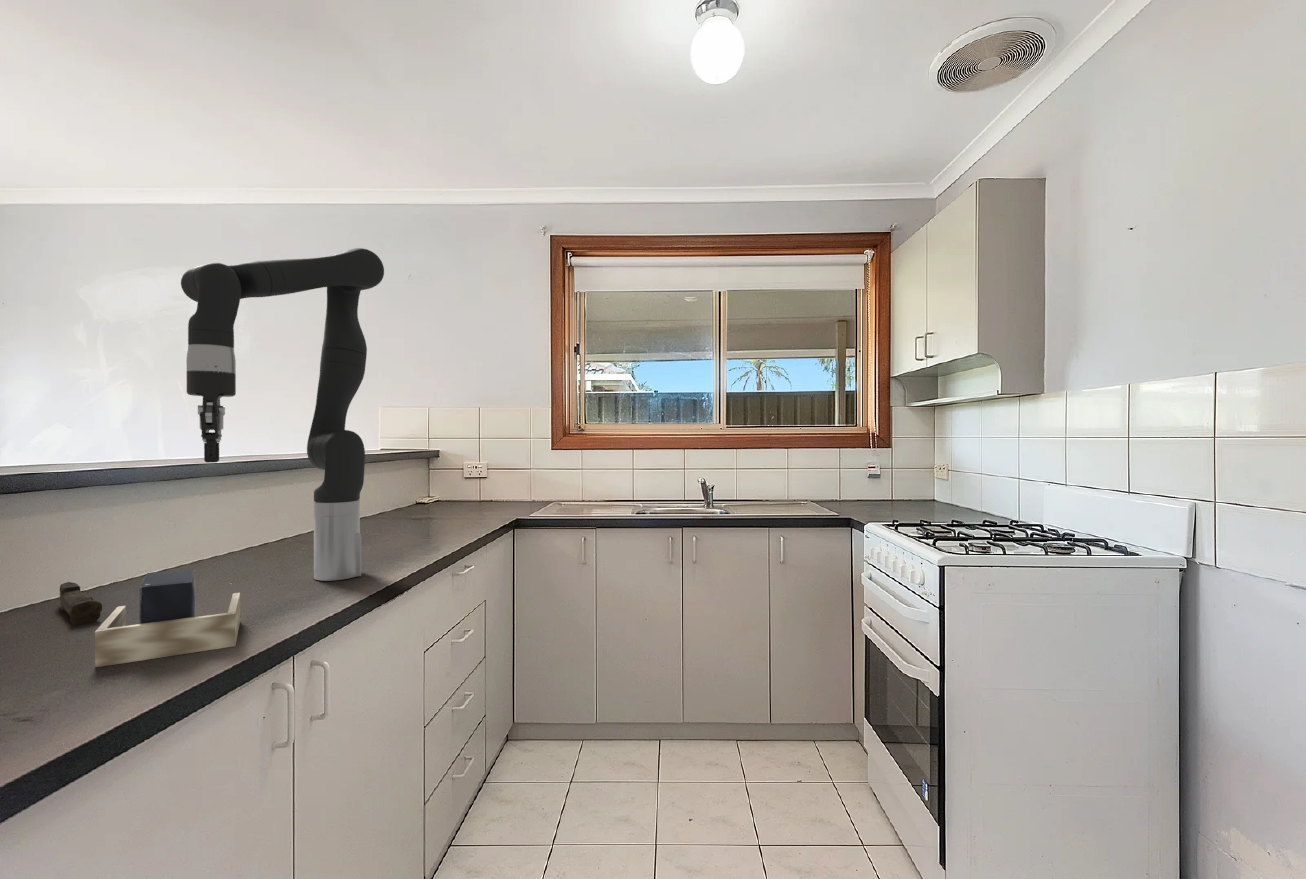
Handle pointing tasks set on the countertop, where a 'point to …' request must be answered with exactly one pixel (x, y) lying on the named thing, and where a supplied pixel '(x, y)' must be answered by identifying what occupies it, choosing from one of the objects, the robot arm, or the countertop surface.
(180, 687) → the countertop surface
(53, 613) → the countertop surface
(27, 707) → the countertop surface
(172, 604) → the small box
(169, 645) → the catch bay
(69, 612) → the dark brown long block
